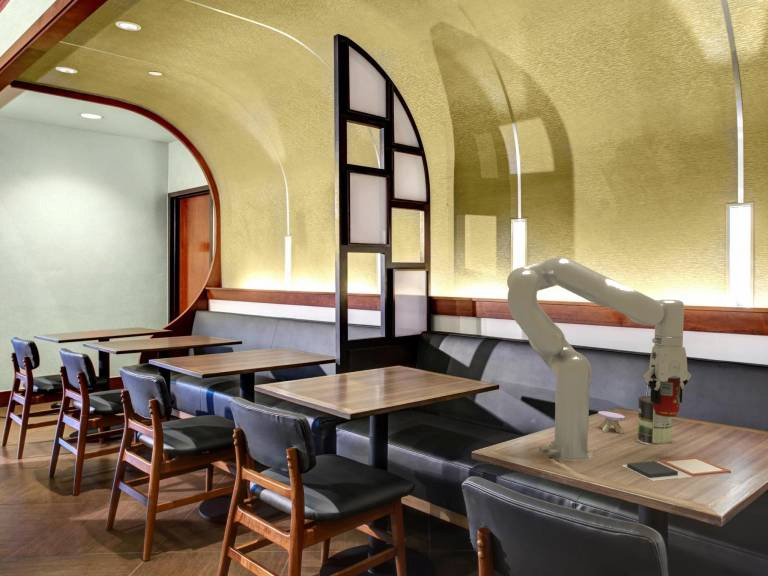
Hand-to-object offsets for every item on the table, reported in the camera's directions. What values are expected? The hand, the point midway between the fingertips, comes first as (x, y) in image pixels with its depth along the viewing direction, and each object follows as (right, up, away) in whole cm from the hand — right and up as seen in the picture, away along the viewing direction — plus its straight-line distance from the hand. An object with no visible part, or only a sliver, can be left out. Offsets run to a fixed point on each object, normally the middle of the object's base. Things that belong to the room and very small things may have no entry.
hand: (666, 401), depth 181 cm
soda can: (0, -4, 0) cm, 4 cm away
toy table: (-4, -16, +34) cm, 38 cm away
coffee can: (+5, -17, +20) cm, 27 cm away
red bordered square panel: (+4, -17, -8) cm, 19 cm away
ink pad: (-10, -17, -12) cm, 23 cm away
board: (-3, -18, -10) cm, 21 cm away
